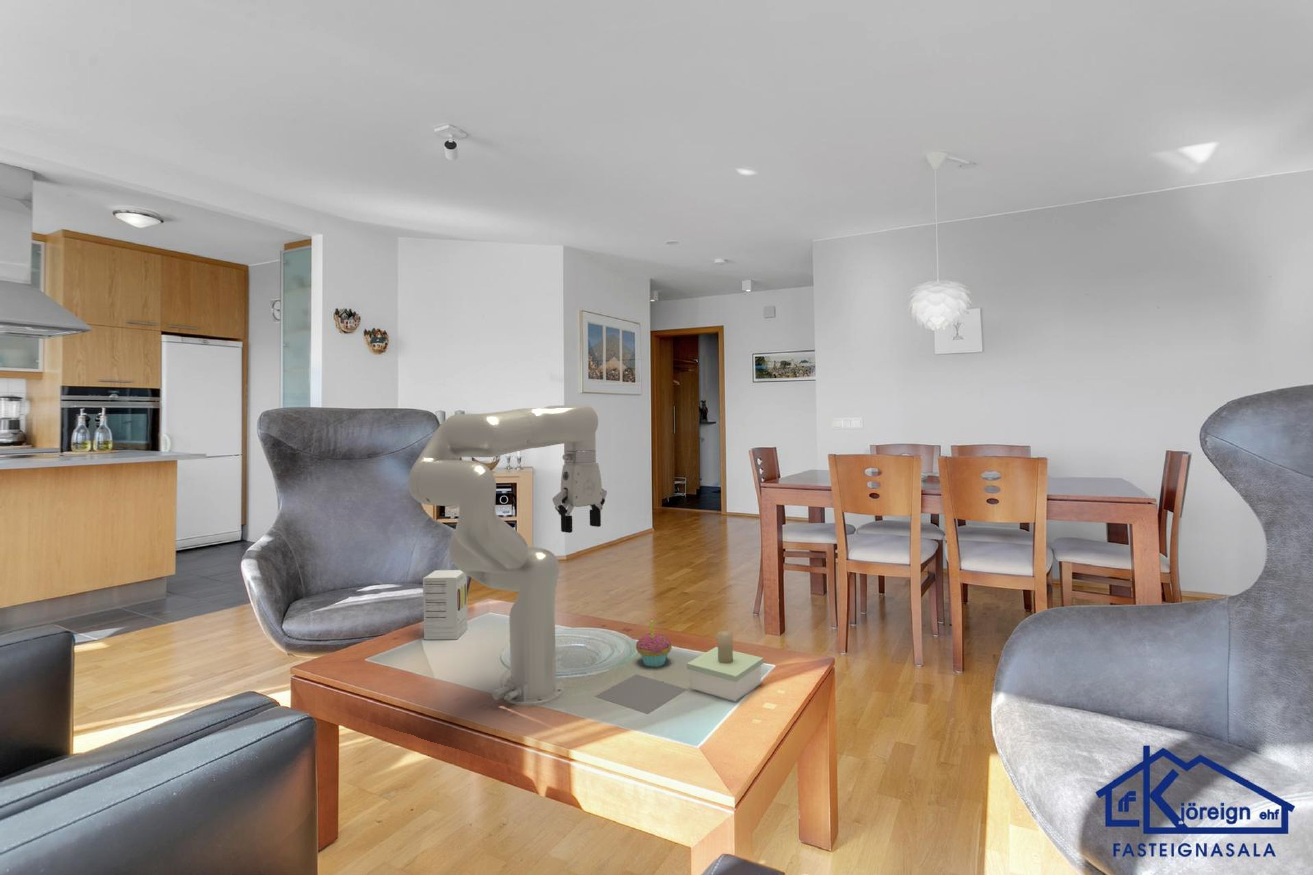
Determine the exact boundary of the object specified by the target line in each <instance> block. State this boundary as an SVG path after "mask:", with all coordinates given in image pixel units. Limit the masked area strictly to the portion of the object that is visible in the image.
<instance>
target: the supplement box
mask: <svg viewBox="0 0 1313 875" xmlns="http://www.w3.org/2000/svg"><path fill="white" fill-rule="evenodd" d="M467 576H468V575H467V574H465V573H464V572H462V571H461V570H459V569H453V570H452V569H448V570H447V569H445V570H444V569H440V570H438V569H437V570H433V571H432V572H431V573H429V574H428V575H426V576H424V577H423V578H422V597H423V598H422V600H423V638H424V640H427V641H428V640H430V641H431V640H432V641H433V640H436V641H437V640H458V639H459V638H460V637H461V636H462V635H463V634H464V633H465V632H466V631H467V630H468V625H469V624H468V593H467V591H468V590H467V587H468V586H467V584H468V583H467V579H468V578H467Z"/></svg>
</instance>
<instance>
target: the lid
mask: <svg viewBox="0 0 1313 875" xmlns="http://www.w3.org/2000/svg"><path fill="white" fill-rule="evenodd" d="M733 634H734V633H733V632H732V631H730V630H721V631H718V632H717V646H715V647H714V648H711V649H710V650H707V651H706V652H704V653H702V654H701V655H699V656H698V657H695V658H693V659H692V660H690V661H689V662H687V663H686V669H687V670H689V671H690V670H693V671H696V672H700V673H704V674H708V675H711V676H715V677H719V678H723V679H726V680H730V681H734V682H737V681H739V680H740V679H741V678H743V677H744V676H746V675H747V674H749V673H750V672H752V671H753V670H755V669H756V668H758V667H759V666H760V665H761V666H762V665H764V657H761V656H757V655H752V654H749V653H744V652H739V651H737V650H734V645H733V644H734V639H733V638H734V635H733Z"/></svg>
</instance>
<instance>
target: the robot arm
mask: <svg viewBox="0 0 1313 875" xmlns="http://www.w3.org/2000/svg"><path fill="white" fill-rule="evenodd" d="M598 426H599V417H598V414H597V412H596V410H595V409H594V408H593V407H591V406H589V405H586V404H572V405H571V404H565V405H548V406H546V407H528V408H527V407H525V408H516V409H510V410H504V411H503V410H502V411H495V412H488V413H466V414H465V413H463V414H462V413H457V414H453V415H450V416H449V417H447V418H446V419H445V420H444V421H443V422H442V423H440V425H439V426H438V428H437V429H436V430H435V431H434V433H433V434H432V436H431V437H430V439H429V440H428V442H427V443H426V445H425V446H424V448H423V450H422V452H421V453H420V454H419V456H418V457H417V459H416V460H415V462H414V464H413V465H412V468H411V469H410V472H409V475H408V480H407V486H408V491H409V494H410V495H411V497H412V498H413V499H414V500H415V501H416V502H418V503H420V504H423V505H427V506H442V507H443V506H444V507H455V508H456V507H457V508H458V518H457V523H456V526H455V531H454V532H453V533H452V535H451V537H450V539H449V545H448V551H449V557H450V559H451V562H452V563H453V565H454V567H456V568H457V570H461V571H462V572H464V573H465V574H466V576H468V577H470V578H472V579H473V580H475V581H477V582H478V583H479V584H481V585H484V586H485V587H487V588H490V589H494V590H499V591H500V590H501V591H502V590H503V591H509V592H516V593H518V595H517V598H516V600H514V603H513V604H512V606H511V608H510V612H509V617H508V618H509V620H508V621H509V624H508V625H509V657H510V658H509V661H510V663H509V664H510V676H509V677H506V683H505V684H504V685H503V687H500V688H497V689H495V690H493V691H492V694H491V695H492V698H493V699H494V701H498V700H500V699H502V698H503V700H504V701H506V702H507V703H508V704H509V703H510V704H512V705H516V706H523V707H524V706H525V707H531V706H532V707H533V706H539V705H544V704H548V703H550V702H551V703H552V702H554V701H556V700H557V699H559V698H560V697H561V696H562V695H563V694H564V690H565V689H564V685H563V683H562V682H560V681H558V680H557V664H556V663H557V661H556V659H557V657H556V656H557V655H556V654H557V653H556V593H557V592H556V591H557V586H558V585H557V584H558V579H559V573H560V564H559V560H558V558H557V556H556V555H555V554H554V553H553V552H552V551H550V550H548V549H545V548H543V547H535V546H528V544H527V541H526V539H525V538H524V536H522V534H521V533H520V532H518V531H517V530H516V529H515V528H513V527H512V526H511V525H510V524H508V523H507V522H506V521H505V520H503V518H501V517H500V516H499V515H498V513H496V499H497V498H496V493H497V482H496V479H495V478H496V477H495V476H494V475H495V474H494V473H493V472H492V470H491V469H490V468H489V467H488V466H487V465H485V464H484V463H481V462H478V461H473V460H463V459H462V460H461V458H462V457H464V458H494V457H498V456H503V455H508V454H511V453H516V452H520V451H521V452H522V451H524V450H529V449H537V448H538V449H539V448H545V447H549V446H556V445H562V444H563V445H564V446H563V447H564V448H563V450H564V451H563V452H564V453H563V455H562V460H563V461H564V462H563V464H562V469H561V470H562V471H561V478H560V491H559V492H558V493H557V494H556V495H555V496H553V497H552V503H553V505H554V508H555V510H556V511H557V513H558V515H559V516H560V531H561V533H567V534H570V533H571V534H572V532H573V516H572V515H571V513H572V511H573V509H574V507H575V508H581V507H587V506H589V507H590V509H589V526H591V527H596V528H599V527H601V526H602V518H601V515H602V512H601V511H602V510H603V505H604V504H605V502H606V497H607V494H608V491H607V490H606V489H604V488H603V487H602V486H603V485H602V478H601V476H602V475H601V470H600V466H599V463H598V462H597V452H596V451H597V448H596V446H597V445H596V442H597V440H596V432H597V430H598Z"/></svg>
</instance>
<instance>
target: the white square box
mask: <svg viewBox="0 0 1313 875" xmlns="http://www.w3.org/2000/svg"><path fill="white" fill-rule="evenodd" d="M761 667H762V665H760V666H759V667H758V668H756V669H755V670H753V671H752V672H750V673H749V674H747V675H746V676H744V677H743V678H741V679H740V680H739V681H737V682H734V681H730V680H726V679H723V678H719V677H715V676H711V675H708V674H704V673H700V672H696V671H693V670H689V671H690V690H692V691H696V692H699V693H703V694H707V695H709V696H714V697H716V698H717V697H718V698H720V699H724V700H727V701H730V702H734V703H737V702H738V701H739V700H741V699H742V698H743V697H745V696H746V695H747V694H749V693H750V692H752V691H753V690H755V689H756V688H757V687H758V686H759V685H761V683H762V675H761V674H762V673H761V670H762V669H761Z"/></svg>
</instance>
